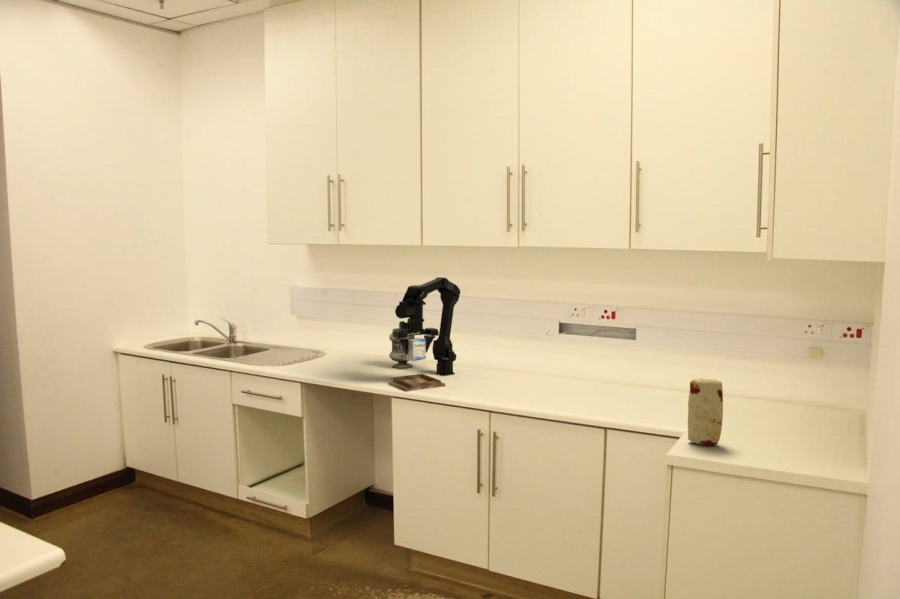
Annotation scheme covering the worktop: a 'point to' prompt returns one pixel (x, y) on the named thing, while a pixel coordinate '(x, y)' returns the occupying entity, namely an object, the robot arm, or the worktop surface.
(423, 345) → the medicine box
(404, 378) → the walnut tray
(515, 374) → the worktop surface
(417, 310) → the robot arm
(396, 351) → the grey ornate vase
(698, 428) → the food model
